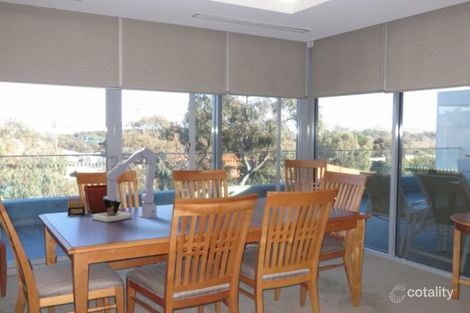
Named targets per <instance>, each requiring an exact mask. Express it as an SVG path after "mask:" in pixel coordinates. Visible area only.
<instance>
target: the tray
mask: <svg viewBox="0 0 470 313" xmlns="http://www.w3.org/2000/svg"><path fill="white" fill-rule="evenodd" d="M131 217H132V213H129V212H124V211H119V210H118V212H117V215H116V216H110V217H107V212H99V213H95V214H93V213H92V220H94V221H99V222H103V223H109V222H110V223H111V222H116V221H122V220H129V219H131Z"/></svg>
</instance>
